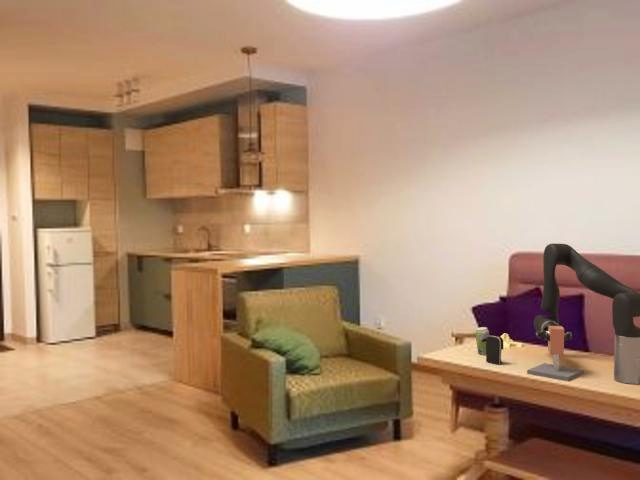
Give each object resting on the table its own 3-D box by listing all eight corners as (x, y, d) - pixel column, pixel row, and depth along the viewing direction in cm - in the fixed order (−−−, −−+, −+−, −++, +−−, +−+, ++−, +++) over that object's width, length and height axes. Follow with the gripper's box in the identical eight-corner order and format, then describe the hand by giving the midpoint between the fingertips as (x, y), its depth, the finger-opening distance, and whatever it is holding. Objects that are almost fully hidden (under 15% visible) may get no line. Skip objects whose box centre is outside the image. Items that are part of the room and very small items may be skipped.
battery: (504, 363, 260) (504, 336, 260) (498, 365, 258) (499, 337, 258) (491, 360, 266) (491, 334, 266) (485, 362, 264) (485, 335, 264)
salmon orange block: (561, 351, 247) (561, 326, 246) (563, 355, 240) (564, 329, 240) (547, 350, 248) (548, 325, 248) (549, 354, 241) (550, 328, 241)
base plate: (584, 373, 245) (584, 369, 245) (567, 381, 233) (568, 377, 233) (544, 366, 256) (544, 363, 256) (527, 373, 244) (527, 369, 244)
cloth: (505, 340, 314) (505, 328, 314) (533, 347, 298) (533, 334, 297) (471, 344, 304) (471, 331, 304) (498, 351, 287) (498, 338, 287)
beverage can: (494, 354, 278) (494, 328, 277) (480, 356, 275) (481, 329, 274) (485, 352, 283) (486, 325, 283) (472, 353, 281) (472, 326, 280)
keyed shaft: (557, 368, 246) (557, 351, 246) (558, 371, 242) (558, 353, 242) (552, 368, 246) (553, 351, 246) (554, 370, 243) (554, 353, 242)
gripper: (533, 321, 259) (537, 328, 243) (570, 322, 256) (576, 330, 239) (532, 338, 260) (537, 347, 243) (569, 340, 256) (576, 349, 240)
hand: (556, 338), depth 241 cm, fingers closed on salmon orange block, 5 cm apart
